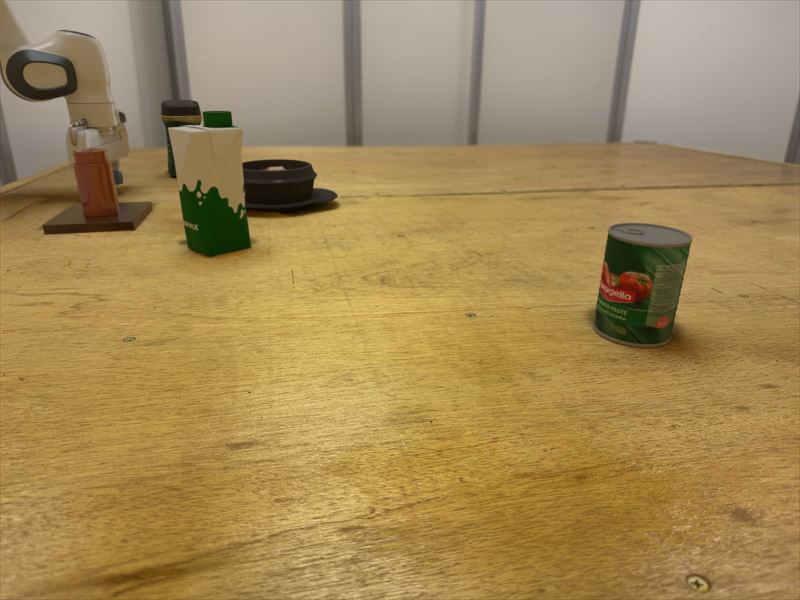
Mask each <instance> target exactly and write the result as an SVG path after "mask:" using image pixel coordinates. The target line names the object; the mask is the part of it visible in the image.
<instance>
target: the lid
mask: <svg viewBox="0 0 800 600" xmlns="http://www.w3.org/2000/svg"><path fill="white" fill-rule="evenodd" d="M113 174H114V179H115V185H116V186H120V185H123V184H124V177H123V172H122V171H120V170H119V171H113Z"/></svg>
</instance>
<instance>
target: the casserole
mask: <svg viewBox="0 0 800 600" xmlns="http://www.w3.org/2000/svg"><path fill="white" fill-rule="evenodd" d="M242 168H243V179H244V189H245V199H246V209H247V210H250V211H256V212H262V213H284V212H285V213H286V212H291V211H295V210H300V209H302V208H305V207H307V206H309V205H313V204H320V203H328V202H331V201H334V200H336V199H337V198H338V197H339V195H338V193H337V192H335V191H334V190H332V189H328V188H322V187H321V188H320V187H314V186H315V180H316V178H317V177H318V173H317V172H316V171H315V170H314V166H313V165H312V163H311V162H308V161H305V160H298V159H287V158H285V159H284V158H283V159H282V158H280V159H279V158H278V159H277V158H275V159H272V158H271V159H258V160H257V159H256V160H249V161H244V162H243V161H242Z"/></svg>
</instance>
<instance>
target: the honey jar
mask: <svg viewBox="0 0 800 600" xmlns="http://www.w3.org/2000/svg"><path fill="white" fill-rule="evenodd" d="M72 155H73V156H74V161H75V162H73V163H72V164H73V168H72V169H73V172H74V178H75V182H76V186H77V187H76V188H77V191H78V195H79V196H78V197H79V200H80V204H81V206H82V210H83V214H84V215H85V216H107V215H113V214H116V213H119V212H120V206H119V197H118V191H117V185H115V179H114V174H113V169H112V163H111V160H108V156H107V150H106V149H104V148H85V149H76V150H73V154H72Z"/></svg>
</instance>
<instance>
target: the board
mask: <svg viewBox="0 0 800 600" xmlns="http://www.w3.org/2000/svg"><path fill="white" fill-rule="evenodd" d="M119 206H120V212H119V213H116V214H113V215H107V216H85V215H84V214H83V210H82V206H81V203H73V204H71V205H70V206H69V207H67V208H66V209H64V210H63V211H61V212H59V213H58V214H57V215H55V216H54V217H52V218H51V219H50V220H49V219H48V221H46V222H45V223H43V224H42V225H41V226H42V230H43V234H44V235H51V234H52V235H53V234H54V235H55V234H74V233H79V234H80V233H102V232H121V231H122V232H123V231H124V232H125V231H126V232H127V231H135V230H136V229H137V228H138V227H139V226H140V224H141V223H142V222H143V221H144V220H145V219H146V217H147V216H148V215H149V214H150V213H151V212H152V210H153V202H152V201H149V200H148V201H123V202H121V201H120V202H119Z"/></svg>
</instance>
